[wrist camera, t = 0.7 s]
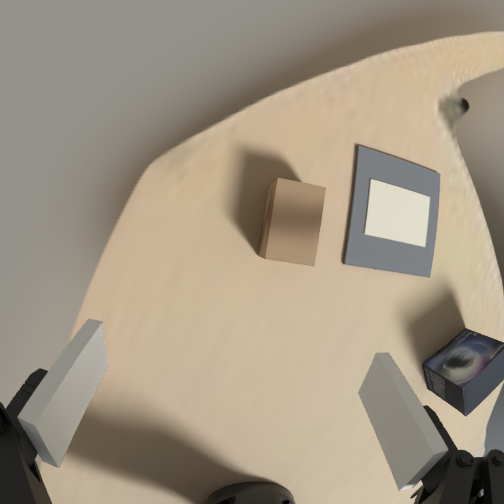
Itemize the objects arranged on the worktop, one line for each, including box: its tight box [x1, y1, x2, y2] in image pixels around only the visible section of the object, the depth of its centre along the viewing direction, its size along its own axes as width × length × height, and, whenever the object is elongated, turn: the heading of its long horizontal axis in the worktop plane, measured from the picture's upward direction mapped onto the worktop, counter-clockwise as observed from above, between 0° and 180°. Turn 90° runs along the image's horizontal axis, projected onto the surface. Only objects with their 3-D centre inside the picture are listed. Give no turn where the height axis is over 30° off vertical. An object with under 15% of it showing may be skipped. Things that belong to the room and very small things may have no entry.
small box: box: [423, 328, 504, 416], centre depth 34 cm, size 11×6×10 cm, turn 116°
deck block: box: [258, 178, 326, 266], centre depth 32 cm, size 8×5×6 cm, turn 171°
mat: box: [343, 146, 440, 277], centre depth 36 cm, size 15×14×1 cm
